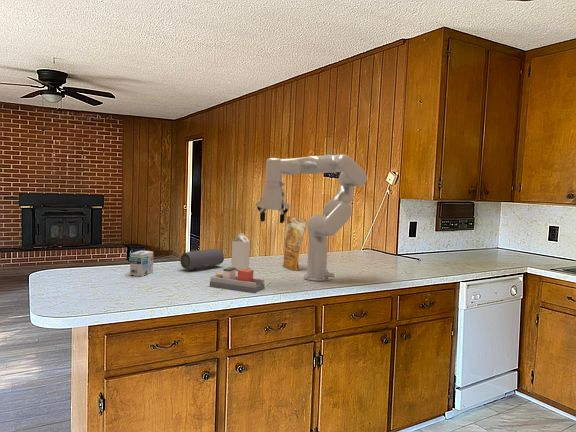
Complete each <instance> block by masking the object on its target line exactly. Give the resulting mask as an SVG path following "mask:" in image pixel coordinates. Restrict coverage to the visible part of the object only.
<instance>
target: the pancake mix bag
mask: <svg viewBox="0 0 576 432" xmlns="http://www.w3.org/2000/svg"><path fill="white" fill-rule="evenodd" d="M285 217H286V218H285V219H286V224H285V225H286V226H285V237H284V252H283V253H284V254H283V264H282V266H283V267H284V268H285V269H288V270H290V271H299V268H300V267H299V258H300V252H301V247H302V242H303V239H304V233H305V230H306V227H307V220H306V219H304V218H300V217H299V218H298V217H295V216H285Z"/></svg>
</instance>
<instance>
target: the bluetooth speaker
mask: <svg viewBox="0 0 576 432" xmlns="http://www.w3.org/2000/svg"><path fill="white" fill-rule="evenodd" d="M224 260H225V255H224V252H223V250H222V249H219V248H208V249H200V250H192V251H188V252H187V251H186V252H183V253H182V254H181V256H180V259H179V261H180V262H179V263H180V265H181V267H182V268H183V269H185V270H194V271H201V270H202V271H203V270H206V269H211V268H212V267H214V266H218V265H221V264H223V262H224Z"/></svg>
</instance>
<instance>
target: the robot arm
mask: <svg viewBox="0 0 576 432" xmlns="http://www.w3.org/2000/svg"><path fill="white" fill-rule="evenodd" d="M265 165H266V166H265V187H264V188H263V191H262V195H261V196H262V197H261V200H259V201H258V202H255V206H256V210H258V211H259V213H260V214H259V215H260V217H259V218H260V222H266V211H267V210H272V211H273V210H274V211H275V210H276V211H279V213H280V215H279V223H280V224H284V223H285V219H286V218H285V217H286V216H285V215H286V214H287V213H288V212H289V210H290V208H291V204H290V203H288V202H287V201H286V199H285V191H284V188H283V187H285V183H284V182H283V176H286V175H287V176H293V175H294V176H295V175H297V174H305V175H307V174H308V175H310V174H311V175H315V174H326V173H327V174H329V173H340V174H339V176H338V183H339V187H338V190H337V192H336V193H335V194H334V196H333V197H332V198H330V199H329V200H328V202H327V203H326V204H325V205H324V207H323V210H322V213H323V215H322V214H314V215H312V216H311V217H310V218H309V219H308V221H307V223H306V227H307V235H308V245H307V247H308V248H307V250H308V251H307V269H306V271H307V272H306V274H304V275H303V278H304V279H305V280H307V281H313V282H326V281H329V280H330V278H335V273H334V272H329V269H327V268H328V267H327V266H328V248H329V245H328V244H329V242H328V237H332V236H333V237H334V235H336V234H337V233H338V232H339V231H340V230H341V228H343V226H345V224H346V223H347V222H348V221H349V220H350V219H351V216H352V213H353V208H352V204H351V203H352V201H353V200H354V198H355V197H354V196H355V191H354V189H355V188H356V187H357V188H360V187H363V186H365V184H366V183H367V181H368V175H367V173H366V172H365V170H364V169H363V168H362V167H361V166H360V165H359V164H358V163H357V162H356V161H355V159H353V158H352V157H351V156H349V155H348V154H344V153H343V154H329V155H328V154H327V155H325V154H324V155H312V156H311V155H310V156H306V157H305V156H303V157H296V158H295V157H294V158H279V157H269V158H267V159H266V163H265ZM354 187H355V188H354Z"/></svg>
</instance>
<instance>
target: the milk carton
mask: <svg viewBox="0 0 576 432" xmlns="http://www.w3.org/2000/svg"><path fill="white" fill-rule="evenodd" d="M250 243H251V242H250V239H249V238H248V237H247V236H246V235H245V233H244V232H242V233H238V235H237V236H236V237H235V238H234V239H233V240H232V241H231V260H230V261H231V262H230V263H231V266H230V267H234V268H236V270H237V271H238V270H241V269H249V268H250V246H251V245H250ZM249 270H250V269H249Z"/></svg>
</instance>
